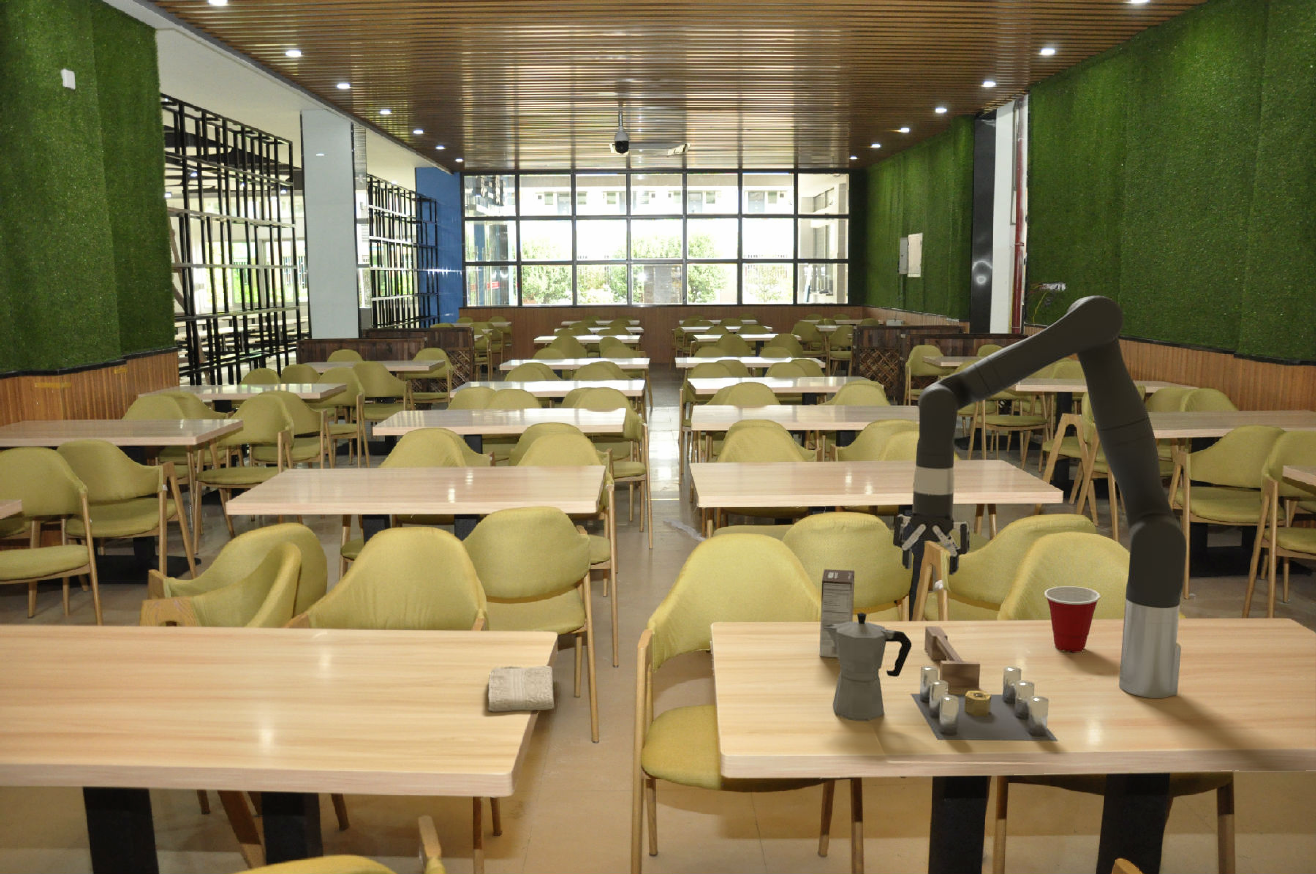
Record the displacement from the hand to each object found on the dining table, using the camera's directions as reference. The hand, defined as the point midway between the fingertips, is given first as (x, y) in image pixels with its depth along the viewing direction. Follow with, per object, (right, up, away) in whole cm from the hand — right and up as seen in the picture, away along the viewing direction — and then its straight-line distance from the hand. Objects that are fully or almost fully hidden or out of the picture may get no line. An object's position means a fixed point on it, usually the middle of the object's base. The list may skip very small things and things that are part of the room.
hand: (929, 571), depth 211 cm
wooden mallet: (+4, -20, +4) cm, 20 cm away
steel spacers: (+4, -23, -20) cm, 31 cm away
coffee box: (-16, -18, +14) cm, 28 cm away
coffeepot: (-16, -23, -18) cm, 33 cm away
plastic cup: (+33, -18, +16) cm, 41 cm away
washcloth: (-78, -22, -11) cm, 81 cm away
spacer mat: (+4, -23, -20) cm, 31 cm away
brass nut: (+4, -23, -18) cm, 29 cm away
